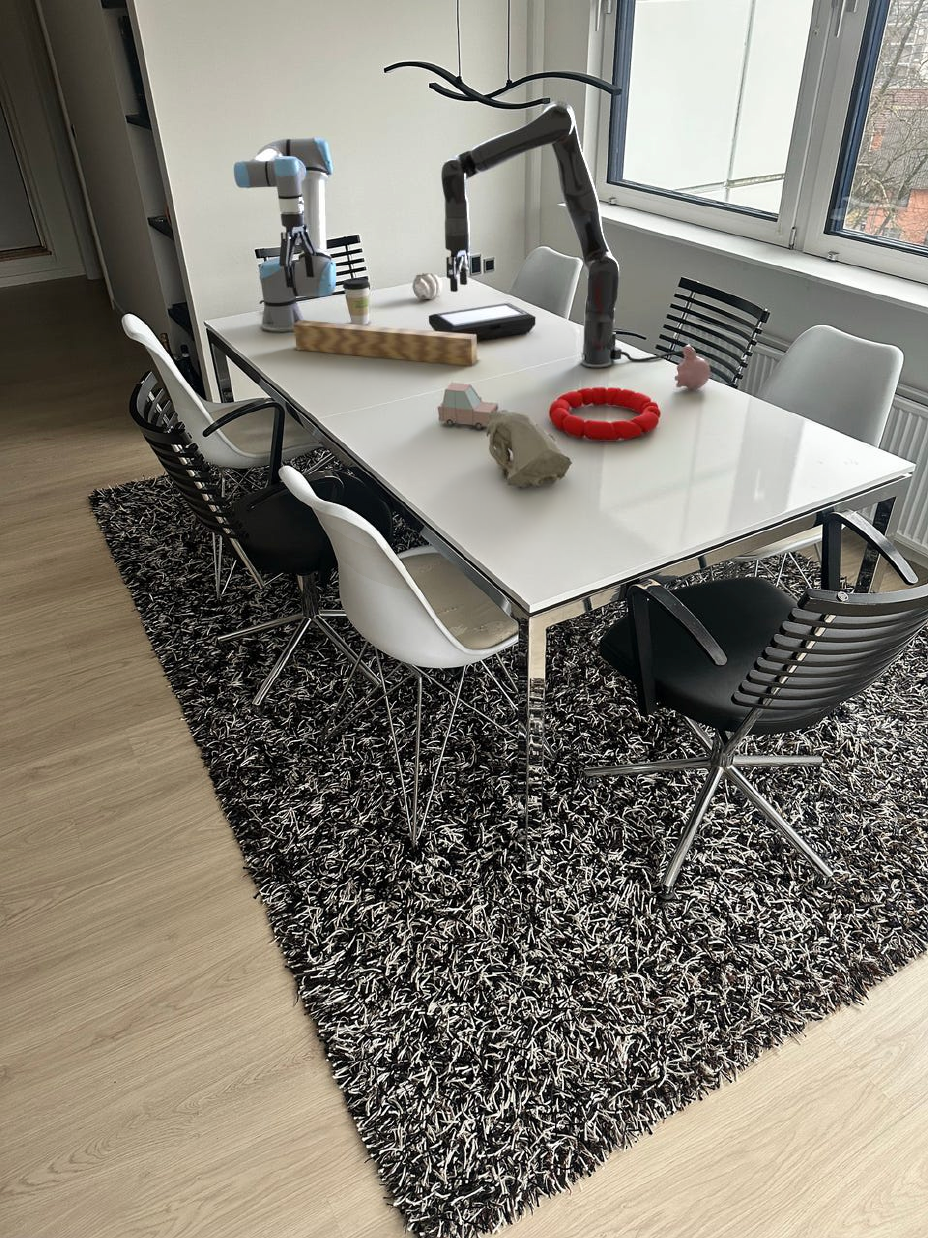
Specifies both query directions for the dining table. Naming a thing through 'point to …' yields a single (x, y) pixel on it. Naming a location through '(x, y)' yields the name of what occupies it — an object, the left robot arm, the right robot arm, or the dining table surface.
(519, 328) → the electronic device
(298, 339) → the beam
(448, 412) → the toy car
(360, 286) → the coffee cup
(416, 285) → the seashell
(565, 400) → the decorative ring
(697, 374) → the figurine
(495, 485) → the dining table surface
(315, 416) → the dining table surface
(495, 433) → the grey brown rock
